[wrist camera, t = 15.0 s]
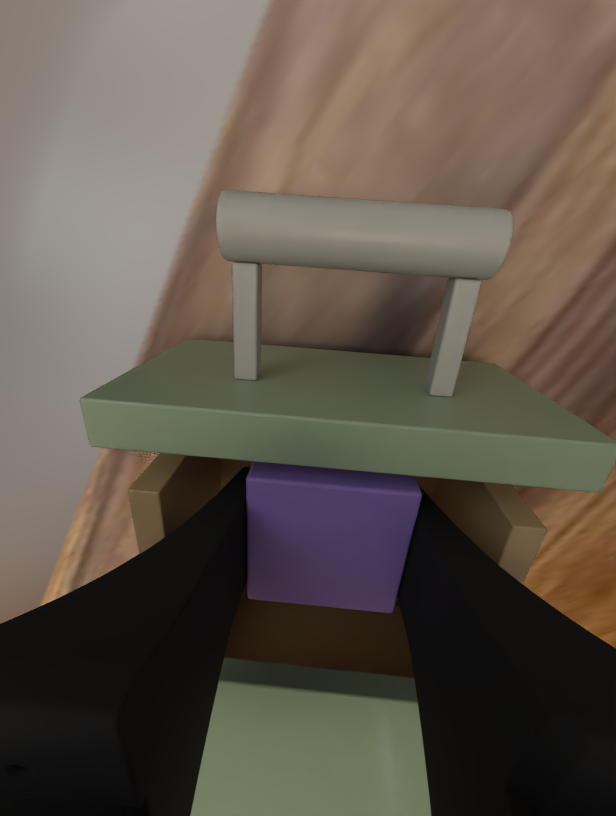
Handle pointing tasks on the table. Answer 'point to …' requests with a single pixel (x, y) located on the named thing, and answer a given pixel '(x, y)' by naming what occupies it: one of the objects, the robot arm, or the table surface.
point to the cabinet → (312, 744)
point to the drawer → (347, 409)
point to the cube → (328, 535)
